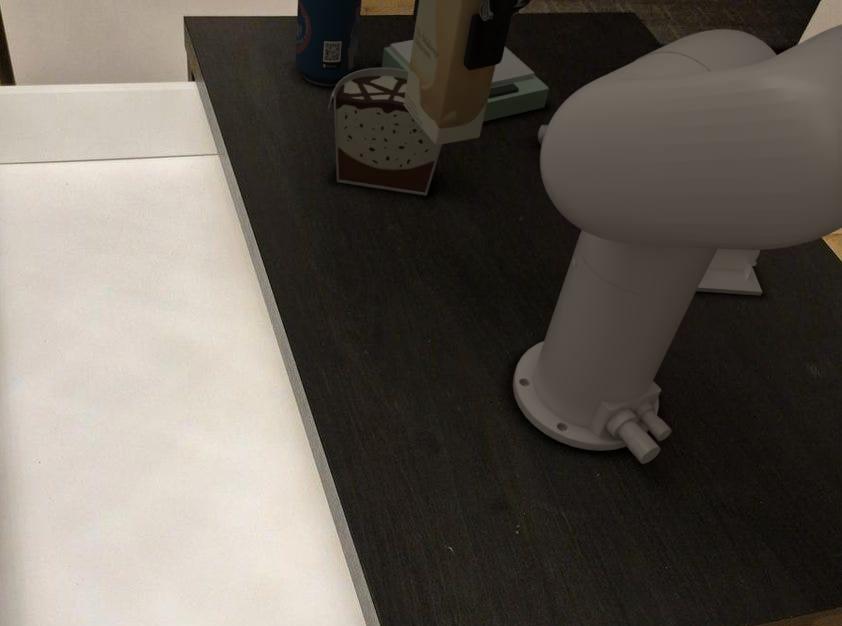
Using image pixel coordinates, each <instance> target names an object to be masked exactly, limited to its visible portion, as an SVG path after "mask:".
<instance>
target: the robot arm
mask: <svg viewBox="0 0 842 626" xmlns="http://www.w3.org/2000/svg"><path fill="white" fill-rule="evenodd" d="M478 1H479V14H474V15H472V19H471V24H470V29H469V35H468V40H467V46H466V51H465V57H464V66H465V67H466V68H467V69H468V70H475V69H479V68H484V67H488V66H493V65H497V64H499V63H500V62H501V61H502V57H503V53H504V48H505V47H506V43H507V39H508V34H509V30H510V24H511V20H512V16H516V15H518V14H519V13H520V10H522V9H523V8H525V7H527V6H528V5H529V4H530V3H531V2H532V1H533V0H478ZM418 5H419V0H414V4H413V11H412V20H413V21H414V22H416V19H417V12H418ZM547 125H548V127H547V129H546V132H545V135H544V138H543V142H542V145H540V146H541V147H540V152H539V169H540V177H541V180H542V184H543V186H544V189H545V192H546V193H547V195H548V196H547V197H548V198H549V199H550V201H551V203H552V204H553V206H554V207H555V208H556V210H557V211H558V212H559V213H560V214H561V215H562V217H564V218H565V219H566V220H567V221H568V222H570V223H571V224H572V225H574V226H575V227H576V228H578V229H579V230H581V231H580V234H579V236H578V238H577V242H576V245H575V248H574V251H573V254H572V256H571V260H570V263H569V266H568V269H567V272H566V275H565V278H564V281H563V284H562V286H561V290H560V291H559V292H560V293H559V295H558V297H557V298H558V299H557V301H556V305H555V307H554V311H553V313H552V316H551V319H550V322H549V325H548V329H547V331H546V334H545V338H544V340H543V341H541V342H538V343H536V344H535V345H533V346H531V347H530V348H528V349H527V350H526V352H524V353H523V355H522V356H521V357H520V359H519V361H518V362H517V365H516V368H515V369H514V370H515V371H514V374H513V380H512V388H513V389H512V390H513V395H514V399H515V401H516V403H517V405H518V408H519V409H520V411H521V412H522V414H523V415H524V417H525V418H526V419H527V420H528V421H529V422H530V423H531V424H532V425H533V426H534V427H535V428H537V429H538V430H539V431H541V432H542V433H543V434H544V435H546V436H548V437H550V438H551V439H553V440H555V441H557V442H559V443H561V444H565V445H567V446H570V447H572V448H578V449H582V450H587V451H598V452H599V451H600V452H603V451H613V450H619V449H622V448H626V447H627V450H629V451H630V452H631V454H632V455H633V456H634V457H635V458H636V460H637V461H638V462H639V463H640V464H642V465H645V464H647V463H650V462H651V461H652V460H654V459H655V458H656V457H657V456H658V455H659V454H660V452H661V449H662V448H661V447H660V446H659V445H658V444H657V442H656V441H654V439H653V438H652V437H651V436H650V435H649V434H648V432H650V433H651V434H652V436H653V437H654V438H655V439H656V440H657V441H658V442H661V441H664V440H665V439H666V438H668V437H669V436H670V435H671V433H672V431H673V430H672V429H671V427H670V426H669V425H668V424H667V423H666V422H665V421H664V420H663V419H662V418H660V417H659V416H658V413H659V408H660V399H659V396H660V394H661V392H662V389H661V387H660V386H659V385H658V384H657V383H656V382H655V381H654V380H655V378H656V375H657V373H658V371H659V369H660V367H661V365H662V363H663V361H664V359H665V357H666V354H667V352H668V350H669V348H670V346H671V344H672V342H673V340H674V338H675V336H676V333H677V332H678V329H679V327H680V326H681V323H682V321H683V320H684V317H685V315H686V313H687V311H688V309H689V307H690V305H691V303H692V300H693V298H694V296H695V294H696V292H697V291H696V290H697V288H698V286H699V284H700V282H701V281H702V279H703V277H704V275H705V273H706V271H707V269H708V267H709V265H710V263H711V261H712V259H713V257H714V255H715V253H716V251H717V249H739V250H760V251H764V250H775V249H776V250H777V249H784V248H791V247H793V246H798V245H803V244H807V243H811V242H814V241H816V240H819V239H821V238H824V237H826V236H828V235H830V234H833V233H835V232H836V231H838V230H839V231H840V229H842V24H838V25H836V26H832V27H830V28H828V29H826V30H823V31H821V32H819V33H817V34H815V35H813V36H810V37H809V38H807V39H805V40H804V41H802V42H800V43H798V44H796V45H794V46H792V47H790V48H788V49H786V50H784V51H783V52H780V53H779V54H777V53H776V52H775V51H774V50H773V48H771V47H770V46H769V45H768V44H767V43H766V42H764V41H763V40H761V39H760V38H758V37H757V36H755V35H753V34H750V33H748V32H745V31H741V30H737V29H729V28H719V29H718V28H717V29H709V30H705V31H700V32H695V33H692V34H689V35H687V36H683V37H682V38H679V39H677V40H674V41H671V42H670V43H669V44H666V45H663V46H662V47H659V48H657V49H655V50H653V51H651V52H649V53H647V54H644V55H642V56H641V57H638V58H636V59H635V60H634V61H632V62H630V63H628V64H626V65H624V66H622V67H620V68H618V69H615V70H614V71H611V72H609V73H607V74H605V75H602V76H600V77H599V78H596V79H595V80H593V81H590V82H588V83H586V84H585V85H583V86H582V87H580V88H579V89H577V90H576V91H575V92H573V93H572V94H571V95H569V96H568V98H566V99H565V101H564V102H563V103H562V104H561V105H560V106H559V107H558V109H557V110H556V112H555V113H554V114H553V116H552V117H551V119H550V121H549V123H548V124H547Z"/></svg>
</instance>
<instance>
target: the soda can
mask: <svg viewBox="0 0 842 626" xmlns="http://www.w3.org/2000/svg"><path fill="white" fill-rule="evenodd" d="M361 9H362V0H297V10H296V12H297V13H296V14H297V15H296V34H295V35H296V37H295V38H296V40H295V63H296V66H297V69H298V70H299V72H300V74H301V75H302V77H303V78H304V79H305V80H306V81H308V82H309V83H311V84H314V85H317V86H322V87H336V85H337V84H338V82H339V81H340V80H341V79H343V78H344V77H345V76H347V75H349V74H351V73H353V72H355V70H356V68H357V58H358V57H357V56H358V46H359V35H360V24H361V13H362V12H361V11H362V10H361Z"/></svg>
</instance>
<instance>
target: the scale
mask: <svg viewBox="0 0 842 626" xmlns="http://www.w3.org/2000/svg"><path fill="white" fill-rule="evenodd" d="M412 45H413V39H410V40H405V41H399V42H393V43H390V45H389V46H386V47H383V54H382V61H381V68H395V69H401V70H407V71H409V66H410V59H411V53H412ZM549 92H550V88H549V87H548V86H547V84H546V83H544V82H543V81H542V80H541V79H540V78H538V77H537V76H536V75H535V72H534V71H533V70H532V69H531V68H530V67H528V66H527V64H525V63H524V62H523V61H522V59H521V60H520V58H518V57H517V56H516V54H514V53H513V52H512V51H511V50H510V49H508V48H507V47H506V46H505V48H504V53H503V57H502V61H501V62H500V63H499V64H497V65H496V66H495V71H494V75H493V79H492V84H491V88H490V93H489V97H488V102H487V106H486V111H485V115H484V120H483V123H485V122H487V121H492V120H496V119H501V118H504V117H509V116H514V115H517V114H521V113H525V112H531V111H534V110H538V109H542V108H545V107H546V102H547V98H548V95H549Z"/></svg>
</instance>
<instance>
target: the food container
mask: <svg viewBox="0 0 842 626" xmlns="http://www.w3.org/2000/svg"><path fill="white" fill-rule="evenodd" d="M408 72H409V71H407V70H401V69H395V68H382V67H369V68H364V69H360V70H356V71H354V72H353V73H351V74H349V75H347V76H345V77H344V78H343V79H341V80H340V81H339V82H338V84H337V85H336V86H334V89H333V91H332V92H331V95H330V98H329V101H328V105H327V109H326V110H330V109H331V106H332V103H333V117H334V119H333V120H334V141H335V142H334V143H335V146H334V147H335V169H336V170H335V171H336V173H335V174H336V183H341V184H348V185H354V186H361V187H367V188H373V189H380V190H386V191H393V192H399V193H405V194H413V195H420V196H428V192H429V189H430V186H431V182H432V179H433V176H434V173H435V170H436V166H437V162H438V159H439V156H440V152H441V149H442V146H443V144H440V145H436V144H435V143H434V142H433V141H432V140H431V139H430V137H429V136H428V135H427V134H426V133H425V132H424V130H423V129H422V128H421V127H420V126H419V124H418V123H417V122H416V121H415V119H414V118H413V117H412V116H411V114H410V113H409V112H408V110H407V109H406V108H405V106H404V99H405V92H406V85H407V79H408Z"/></svg>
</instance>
